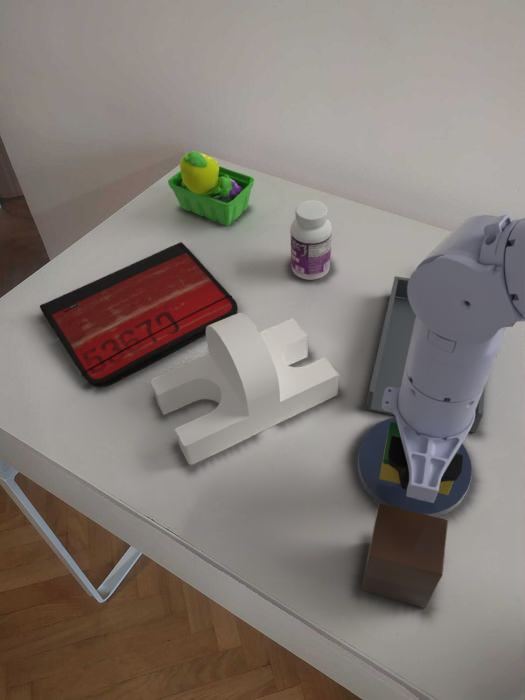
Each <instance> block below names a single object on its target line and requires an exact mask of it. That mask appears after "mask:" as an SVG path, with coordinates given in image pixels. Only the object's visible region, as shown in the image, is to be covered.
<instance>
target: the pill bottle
mask: <svg viewBox="0 0 525 700" xmlns="http://www.w3.org/2000/svg"><path fill="white" fill-rule="evenodd" d="M328 212H329V211H328V207H327V205H326V204H325V203H324V202H321V201H319V200H315V199H314V200H313V199H312V200H311V199H309V200H305V201H302V202H300V203H299V204H298V205H297V206H296V207H295V217H294V219H293V220H292V222H291V224H290V234H289V235H290V265H291V267H290V268H291V271H292V273H293V274H294V275H295V276H297V277H298V278H300V279H303V280H308V281H311V280H317V279H321V278H323V277H324V276H326V275H327V274H328V273H329V271H330V268H331V258H332V239H333V238H332V237H333V226H332V223H331V221H330V219H329V218H328V217H329V216H328V214H329V213H328Z"/></svg>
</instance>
